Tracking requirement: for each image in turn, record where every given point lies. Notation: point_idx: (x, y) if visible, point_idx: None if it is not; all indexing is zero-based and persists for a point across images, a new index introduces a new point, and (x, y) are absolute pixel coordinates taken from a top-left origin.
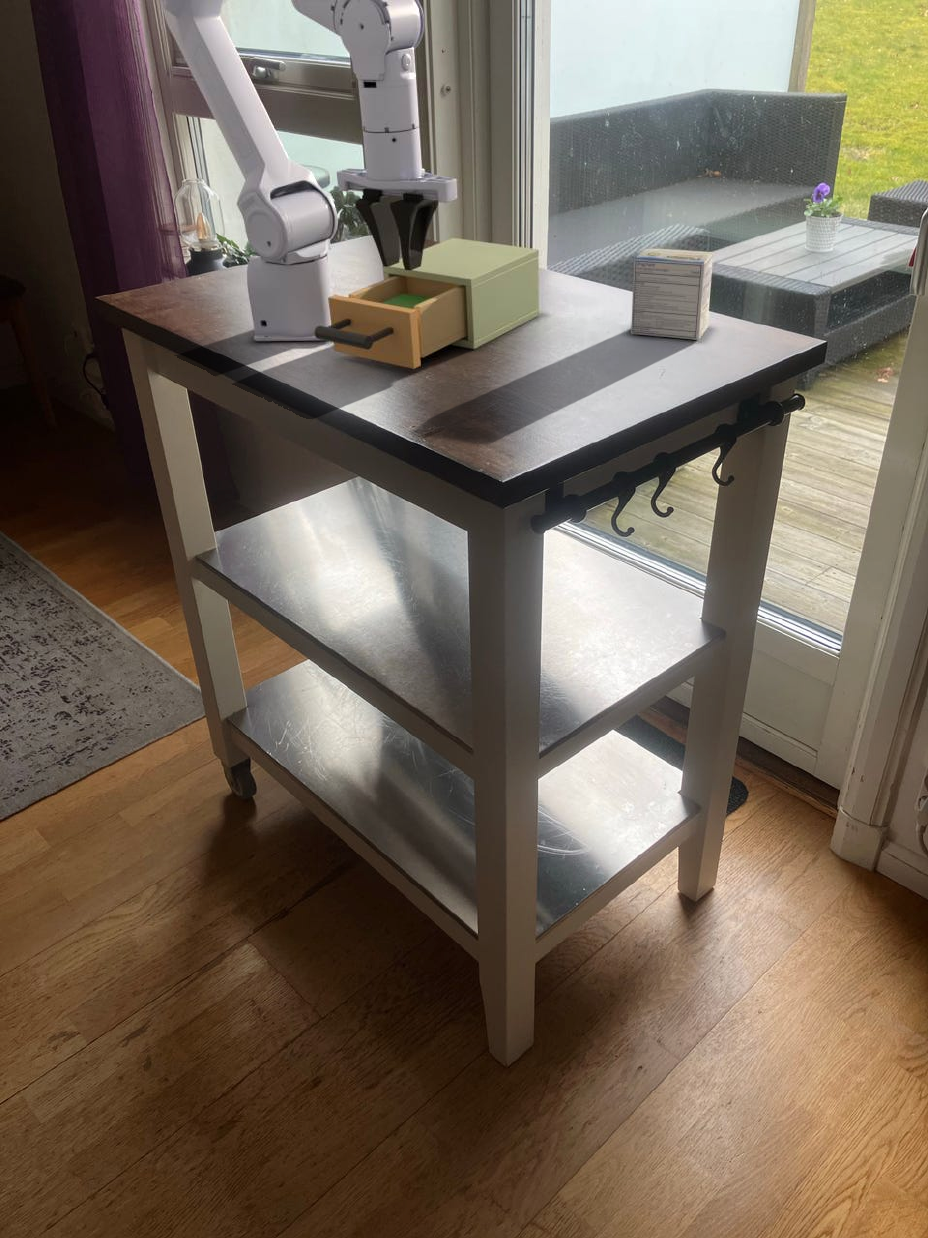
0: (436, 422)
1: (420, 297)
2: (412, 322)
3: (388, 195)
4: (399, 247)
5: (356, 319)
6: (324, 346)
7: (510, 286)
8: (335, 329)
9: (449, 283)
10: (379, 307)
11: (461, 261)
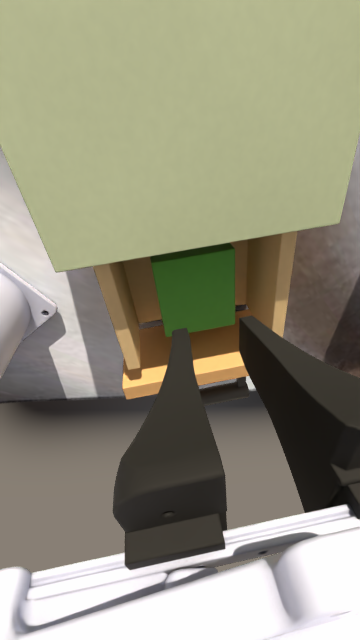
0: (333, 358)
1: (202, 260)
2: None
3: (222, 512)
4: (190, 344)
5: None
6: (70, 320)
7: None
8: None
9: None
10: (232, 378)
11: (222, 83)
